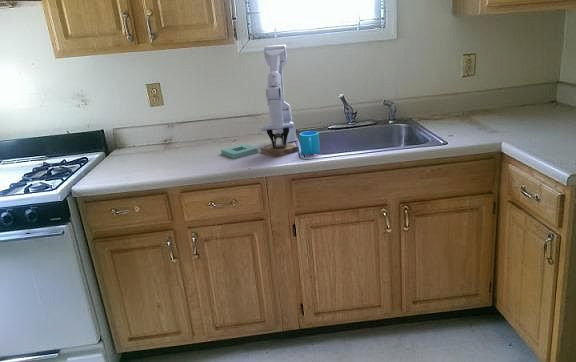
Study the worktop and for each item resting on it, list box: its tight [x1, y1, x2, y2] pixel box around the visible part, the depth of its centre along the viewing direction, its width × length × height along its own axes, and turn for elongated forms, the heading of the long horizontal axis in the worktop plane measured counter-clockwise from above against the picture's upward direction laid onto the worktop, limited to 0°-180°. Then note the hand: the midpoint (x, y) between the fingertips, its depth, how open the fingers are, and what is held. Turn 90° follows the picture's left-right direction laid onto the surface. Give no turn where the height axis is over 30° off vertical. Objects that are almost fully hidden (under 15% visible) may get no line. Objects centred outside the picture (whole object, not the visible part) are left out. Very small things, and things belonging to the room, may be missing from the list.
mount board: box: [260, 142, 300, 158], centre depth 198 cm, size 12×12×2 cm
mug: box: [299, 130, 321, 155], centre depth 190 cm, size 12×8×8 cm
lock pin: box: [273, 132, 284, 149], centre depth 197 cm, size 5×5×8 cm
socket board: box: [220, 143, 259, 159], centre depth 201 cm, size 12×12×2 cm
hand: (279, 145), depth 197 cm, fingers closed on lock pin, 4 cm apart
